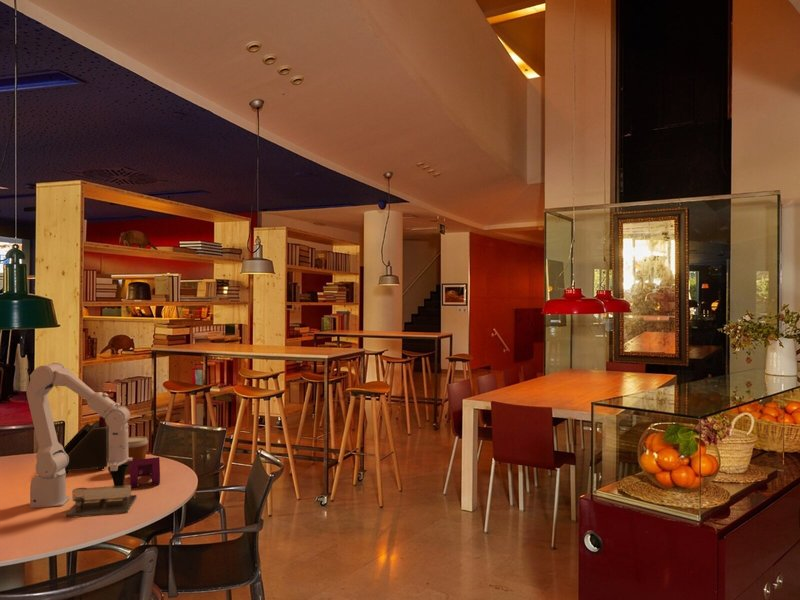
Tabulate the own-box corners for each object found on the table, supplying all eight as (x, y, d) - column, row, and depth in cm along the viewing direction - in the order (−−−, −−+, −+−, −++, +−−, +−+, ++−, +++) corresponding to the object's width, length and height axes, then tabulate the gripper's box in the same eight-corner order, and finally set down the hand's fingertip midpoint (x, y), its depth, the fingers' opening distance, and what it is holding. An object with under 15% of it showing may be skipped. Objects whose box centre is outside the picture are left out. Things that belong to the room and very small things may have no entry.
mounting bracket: (129, 494, 220) (130, 485, 206) (129, 471, 224) (129, 460, 209) (157, 490, 224) (160, 481, 210) (157, 467, 228) (159, 457, 213)
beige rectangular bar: (70, 501, 185) (70, 492, 185) (74, 497, 189) (74, 488, 189) (128, 497, 189) (128, 488, 189) (131, 493, 193) (131, 484, 193)
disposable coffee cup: (142, 474, 225) (141, 442, 225) (116, 474, 225) (116, 442, 225) (152, 467, 234) (152, 436, 234) (127, 467, 234) (127, 436, 234)
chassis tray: (65, 517, 181) (65, 508, 181) (79, 502, 194) (79, 493, 194) (127, 512, 184) (127, 503, 184) (136, 498, 198) (136, 489, 198)
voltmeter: (63, 464, 239) (62, 413, 239) (109, 460, 246) (108, 410, 246) (57, 475, 224) (57, 421, 224) (106, 470, 231) (106, 417, 231)
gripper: (127, 449, 189) (127, 493, 189) (136, 439, 203) (136, 480, 203) (102, 451, 188) (102, 495, 188) (113, 440, 202) (114, 481, 202)
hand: (119, 487), depth 195 cm, fingers closed
